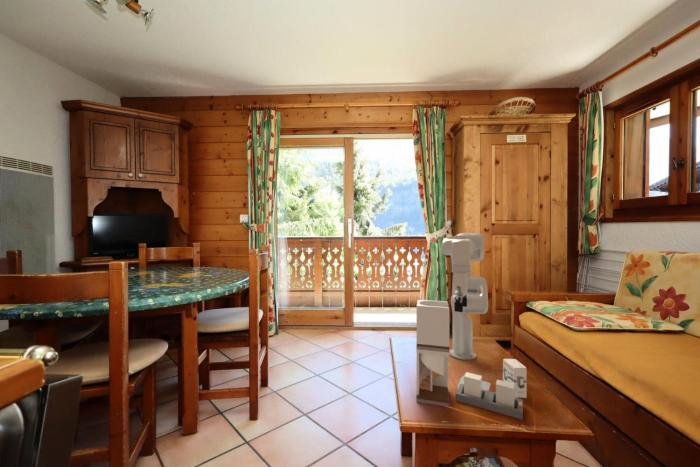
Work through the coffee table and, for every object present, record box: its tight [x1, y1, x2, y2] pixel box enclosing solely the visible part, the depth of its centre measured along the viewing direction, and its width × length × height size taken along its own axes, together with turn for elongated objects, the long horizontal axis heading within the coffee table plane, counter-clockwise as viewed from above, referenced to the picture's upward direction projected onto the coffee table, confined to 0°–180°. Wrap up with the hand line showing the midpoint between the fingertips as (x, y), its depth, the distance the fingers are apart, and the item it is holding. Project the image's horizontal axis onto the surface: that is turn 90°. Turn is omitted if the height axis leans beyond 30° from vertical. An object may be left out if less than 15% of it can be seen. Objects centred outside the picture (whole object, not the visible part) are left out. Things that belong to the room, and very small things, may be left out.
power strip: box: [455, 384, 524, 421], centre depth 103 cm, size 8×21×4 cm, turn 58°
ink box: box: [502, 358, 528, 399], centre depth 111 cm, size 9×5×12 cm, turn 0°
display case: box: [415, 299, 450, 408], centre depth 109 cm, size 11×11×35 cm
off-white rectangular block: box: [495, 379, 516, 408], centre depth 100 cm, size 4×6×9 cm
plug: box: [463, 371, 483, 399], centre depth 106 cm, size 4×6×9 cm
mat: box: [456, 375, 491, 391], centre depth 116 cm, size 11×11×1 cm
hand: (460, 308), depth 122 cm, fingers open, 9 cm apart
